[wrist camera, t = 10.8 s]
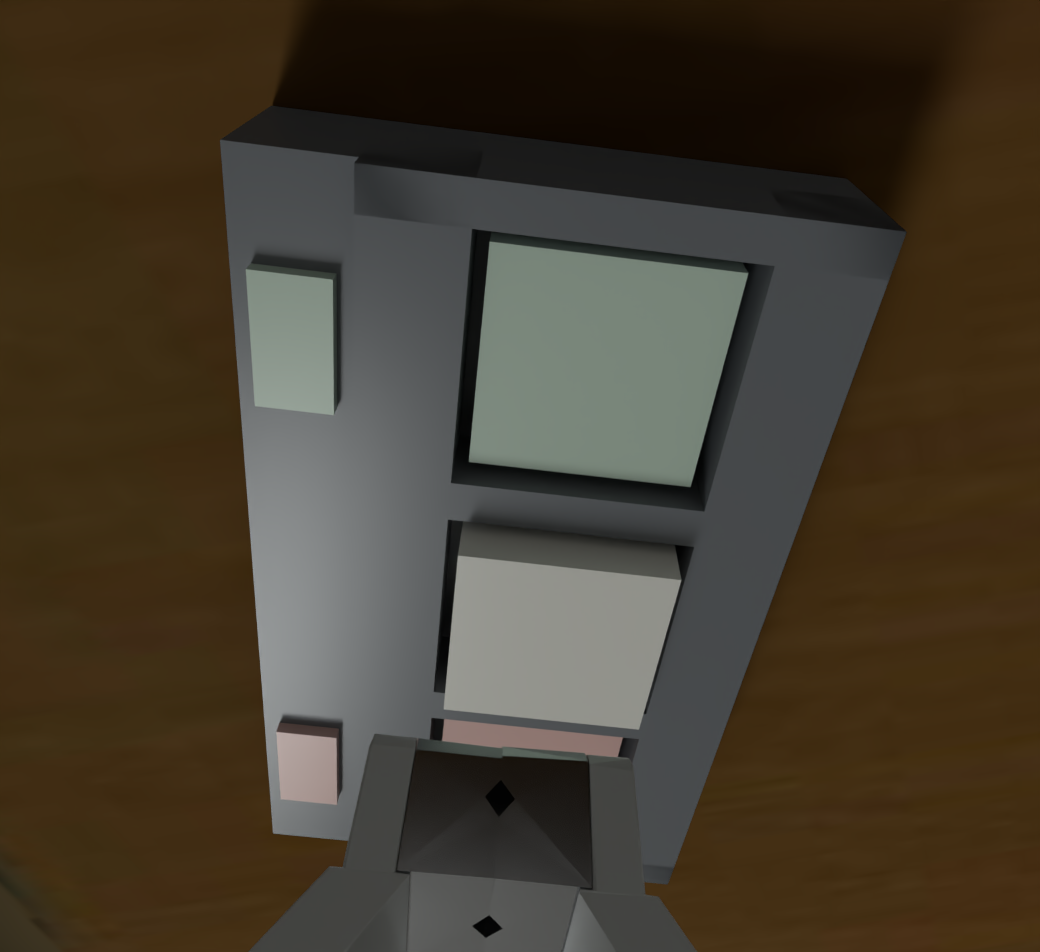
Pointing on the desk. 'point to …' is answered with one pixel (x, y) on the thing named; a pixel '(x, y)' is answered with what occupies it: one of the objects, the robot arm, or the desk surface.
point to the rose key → (529, 738)
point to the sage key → (600, 357)
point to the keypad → (449, 415)
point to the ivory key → (558, 624)
